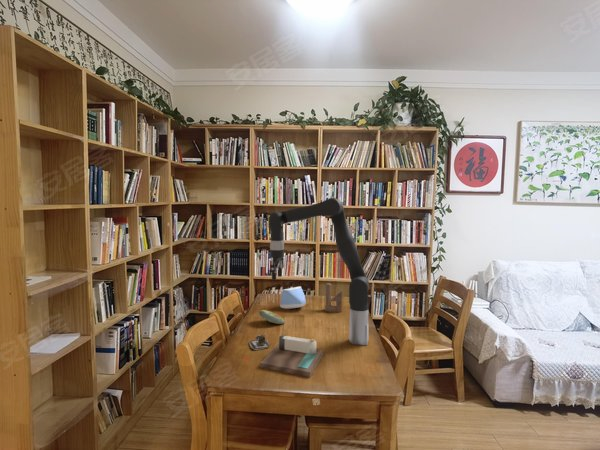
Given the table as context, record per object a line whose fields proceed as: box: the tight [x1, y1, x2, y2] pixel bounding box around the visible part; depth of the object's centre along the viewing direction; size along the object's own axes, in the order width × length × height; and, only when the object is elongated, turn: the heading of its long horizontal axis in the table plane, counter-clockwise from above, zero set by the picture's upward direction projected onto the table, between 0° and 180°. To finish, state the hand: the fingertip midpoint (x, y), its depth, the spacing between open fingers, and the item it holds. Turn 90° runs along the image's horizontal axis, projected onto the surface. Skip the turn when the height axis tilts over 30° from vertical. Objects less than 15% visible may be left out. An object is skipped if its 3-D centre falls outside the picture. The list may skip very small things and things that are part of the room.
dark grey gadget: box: [249, 334, 270, 351], centre depth 153 cm, size 12×6×11 cm
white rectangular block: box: [278, 334, 317, 354], centre depth 143 cm, size 18×4×6 cm, turn 71°
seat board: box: [259, 343, 324, 378], centre depth 137 cm, size 22×20×2 cm
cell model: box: [258, 309, 285, 325], centre depth 180 cm, size 11×8×15 cm
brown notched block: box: [324, 282, 343, 313], centre depth 203 cm, size 4×11×18 cm, turn 81°
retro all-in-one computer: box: [279, 285, 306, 310], centre depth 207 cm, size 21×19×14 cm
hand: (277, 278), depth 171 cm, fingers open, 8 cm apart
